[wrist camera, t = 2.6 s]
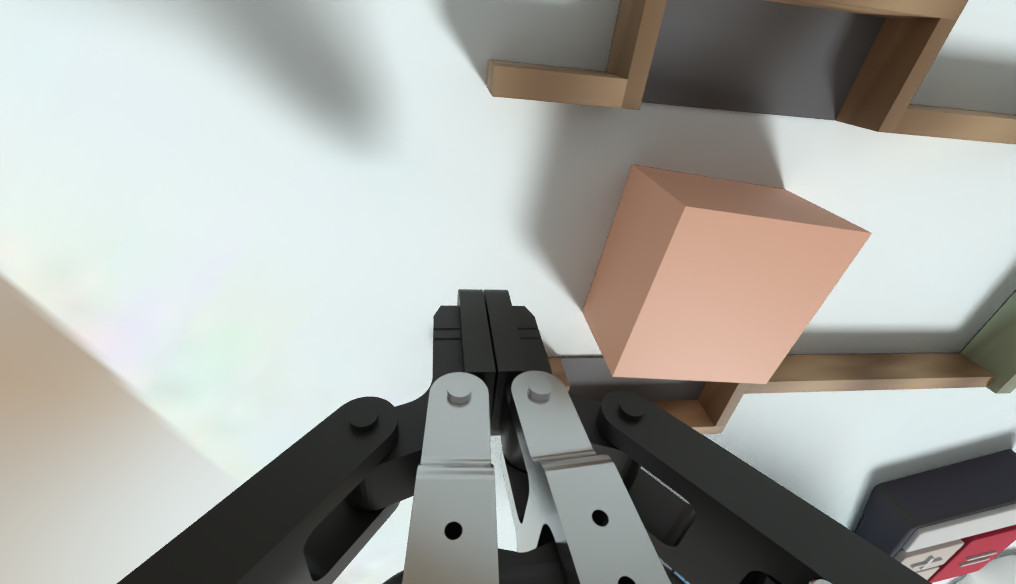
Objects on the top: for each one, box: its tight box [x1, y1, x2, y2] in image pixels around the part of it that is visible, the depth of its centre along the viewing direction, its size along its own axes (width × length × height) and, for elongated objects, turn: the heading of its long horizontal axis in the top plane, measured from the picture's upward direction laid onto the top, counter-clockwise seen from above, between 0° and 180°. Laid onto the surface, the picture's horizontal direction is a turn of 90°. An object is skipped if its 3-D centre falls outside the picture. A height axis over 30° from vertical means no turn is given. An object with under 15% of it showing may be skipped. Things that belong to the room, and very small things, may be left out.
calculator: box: [854, 449, 1016, 583], centre depth 36 cm, size 11×4×15 cm
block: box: [582, 165, 872, 384], centre depth 17 cm, size 7×7×4 cm
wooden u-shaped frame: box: [487, 0, 1016, 434], centre depth 19 cm, size 30×20×2 cm, turn 84°
